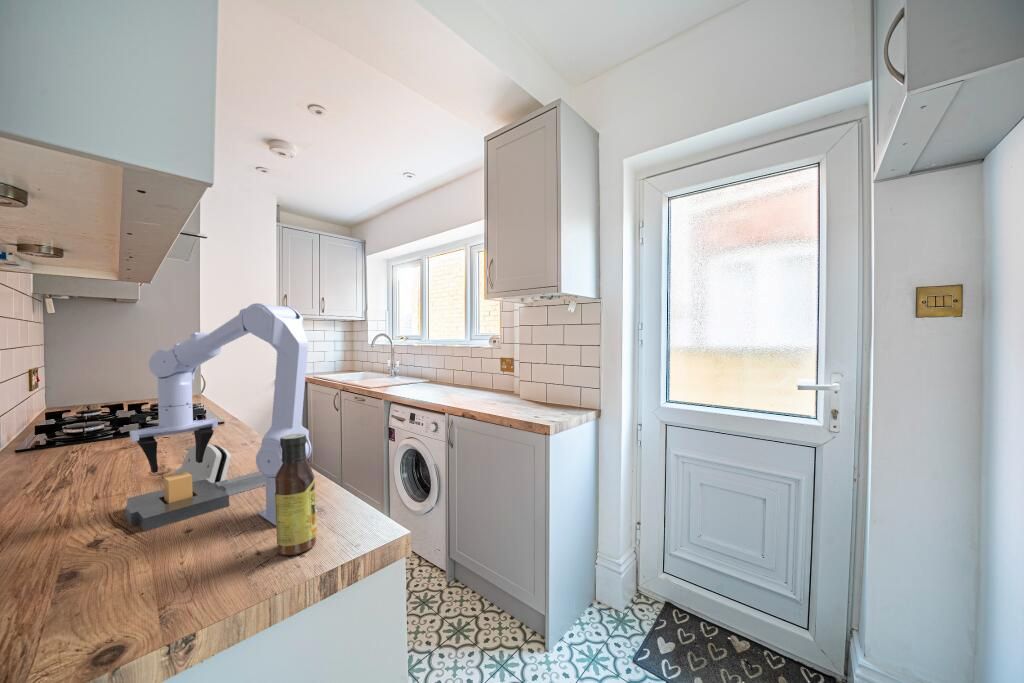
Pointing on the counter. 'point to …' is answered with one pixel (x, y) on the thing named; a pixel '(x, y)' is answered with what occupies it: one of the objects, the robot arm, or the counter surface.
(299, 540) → the sauce bottle
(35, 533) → the counter surface
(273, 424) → the robot arm
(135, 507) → the grey mounting plate
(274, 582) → the counter surface
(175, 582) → the counter surface
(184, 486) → the wedge pin
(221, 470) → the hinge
